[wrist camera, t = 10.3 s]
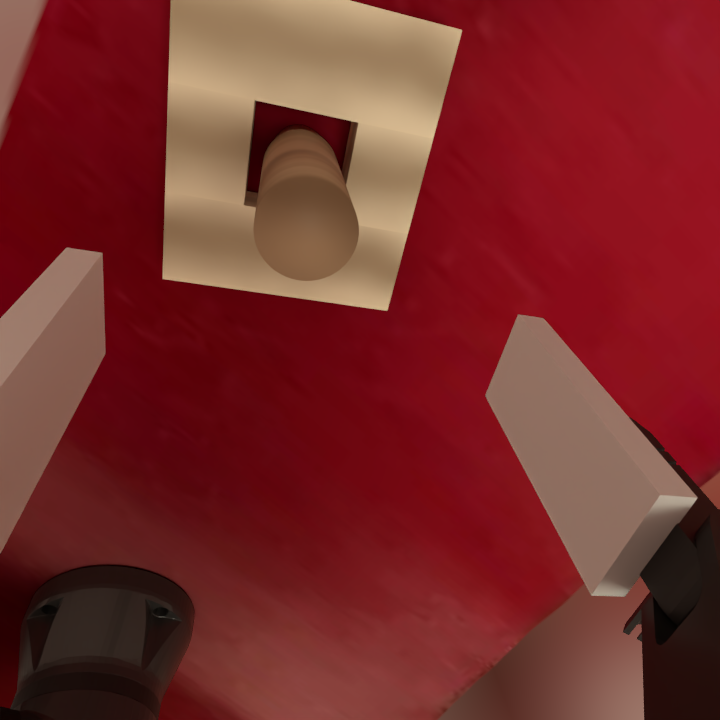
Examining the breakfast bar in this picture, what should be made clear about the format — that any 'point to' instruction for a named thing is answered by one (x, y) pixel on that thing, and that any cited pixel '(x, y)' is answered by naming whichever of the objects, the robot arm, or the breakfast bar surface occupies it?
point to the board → (307, 93)
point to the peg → (304, 208)
